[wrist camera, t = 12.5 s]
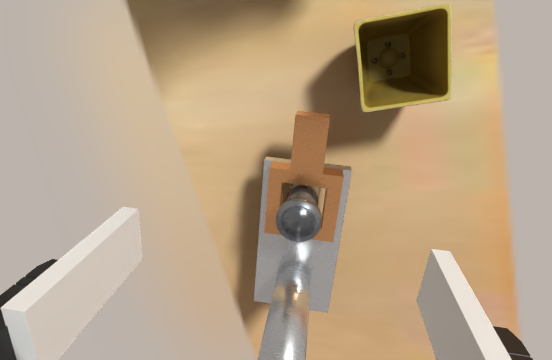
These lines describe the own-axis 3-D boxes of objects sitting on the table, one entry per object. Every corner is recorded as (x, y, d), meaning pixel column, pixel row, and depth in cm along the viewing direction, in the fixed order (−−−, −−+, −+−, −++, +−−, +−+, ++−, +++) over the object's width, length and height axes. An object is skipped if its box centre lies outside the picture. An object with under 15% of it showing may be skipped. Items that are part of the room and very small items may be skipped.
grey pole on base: (327, 278, 54) (328, 441, 31) (263, 269, 55) (218, 419, 32) (355, 107, 44) (383, 163, 22) (277, 99, 45) (228, 144, 23)
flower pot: (428, 90, 43) (452, 100, 34) (354, 101, 44) (361, 113, 36) (425, 12, 40) (452, 1, 32) (347, 26, 41) (353, 20, 33)
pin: (288, 189, 50) (273, 238, 36) (291, 158, 48) (277, 198, 35) (320, 194, 49) (318, 245, 36) (325, 162, 47) (323, 204, 34)
